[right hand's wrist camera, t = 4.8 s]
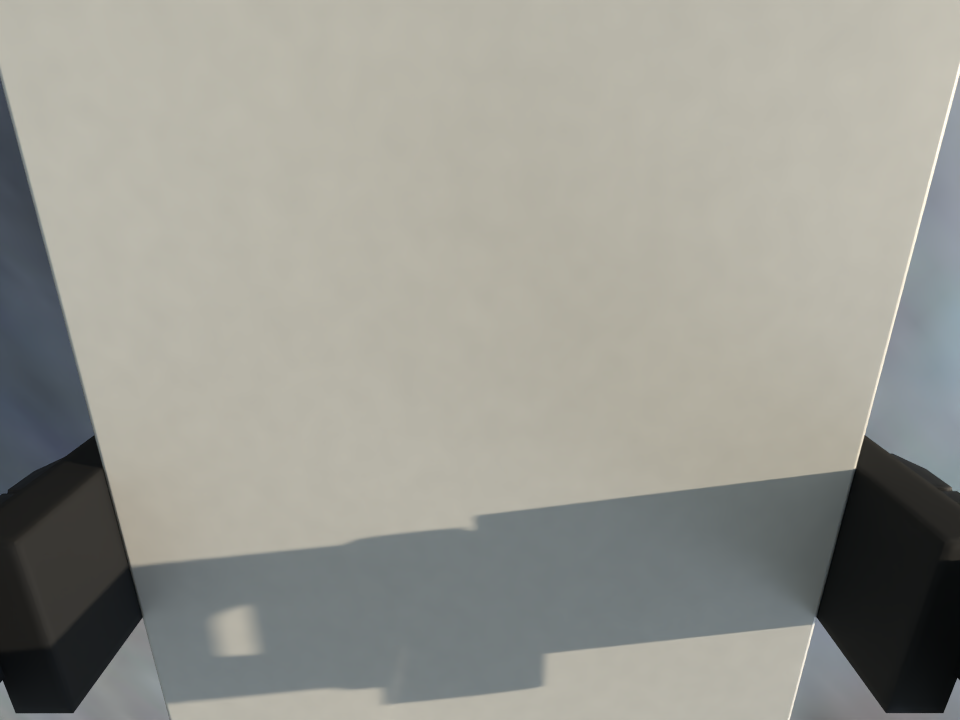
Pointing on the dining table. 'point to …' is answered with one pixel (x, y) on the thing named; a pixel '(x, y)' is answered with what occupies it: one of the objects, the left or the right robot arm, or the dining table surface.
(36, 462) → the dining table surface
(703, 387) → the cabinet
